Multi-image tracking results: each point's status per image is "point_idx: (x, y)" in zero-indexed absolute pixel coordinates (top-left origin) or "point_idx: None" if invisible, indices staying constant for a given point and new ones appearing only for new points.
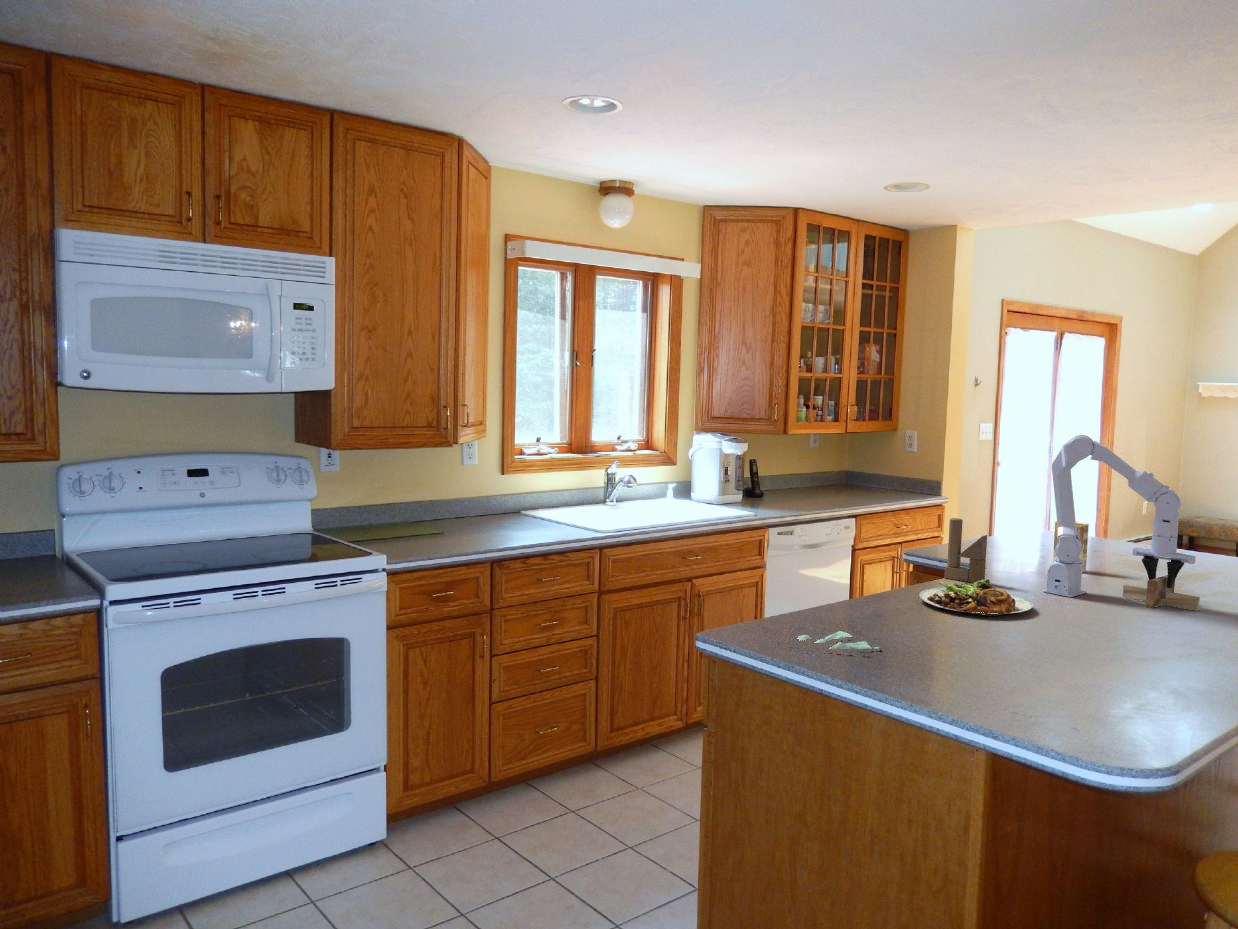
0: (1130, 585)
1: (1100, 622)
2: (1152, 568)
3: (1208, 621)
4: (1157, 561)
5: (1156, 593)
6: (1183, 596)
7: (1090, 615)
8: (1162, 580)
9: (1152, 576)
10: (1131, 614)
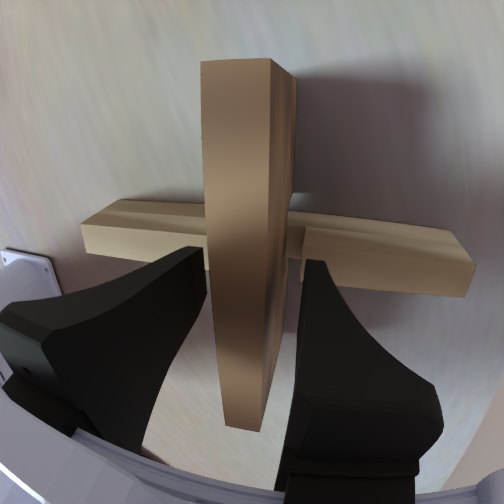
0: (103, 239)
1: (253, 475)
2: (150, 381)
3: (463, 373)
4: (87, 345)
5: (274, 353)
6: (398, 288)
7: (215, 454)
8: (264, 350)
9: (180, 331)
10: (267, 425)
